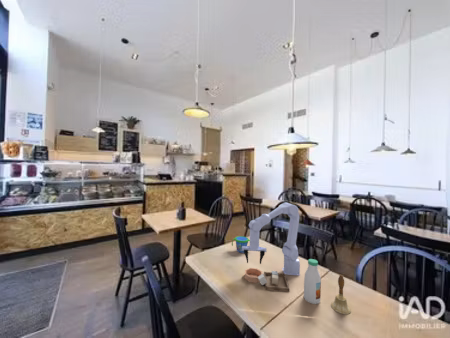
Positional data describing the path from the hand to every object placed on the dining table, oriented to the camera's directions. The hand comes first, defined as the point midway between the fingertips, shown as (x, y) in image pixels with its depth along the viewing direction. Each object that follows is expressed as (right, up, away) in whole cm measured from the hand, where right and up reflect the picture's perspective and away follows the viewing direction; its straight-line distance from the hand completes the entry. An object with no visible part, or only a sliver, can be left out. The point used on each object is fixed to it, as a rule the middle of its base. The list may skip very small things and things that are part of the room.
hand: (253, 262), depth 122 cm
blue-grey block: (+12, -8, -2) cm, 15 cm away
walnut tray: (+12, -9, -6) cm, 16 cm away
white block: (+3, -5, -7) cm, 10 cm away
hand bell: (+38, -10, -26) cm, 47 cm away
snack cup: (-5, -8, +37) cm, 38 cm away
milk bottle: (+26, -10, -20) cm, 35 cm away
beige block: (+11, -8, -7) cm, 15 cm away
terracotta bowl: (0, -9, -2) cm, 9 cm away
